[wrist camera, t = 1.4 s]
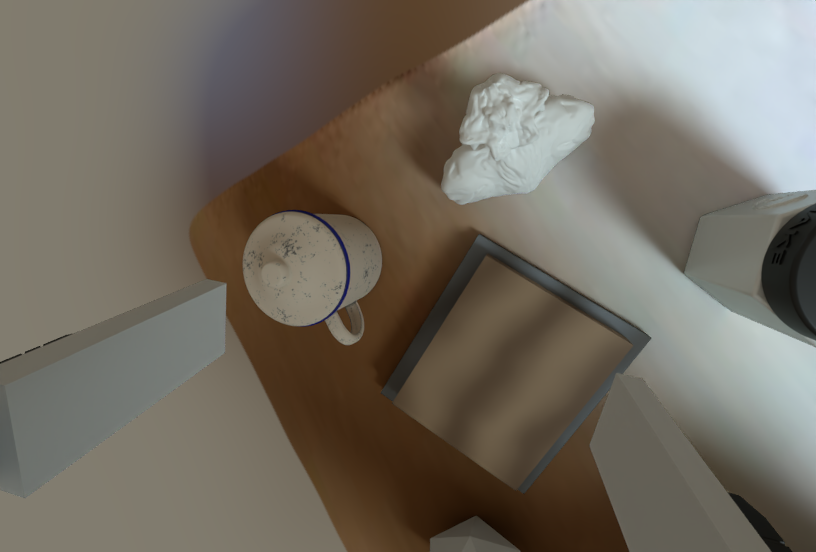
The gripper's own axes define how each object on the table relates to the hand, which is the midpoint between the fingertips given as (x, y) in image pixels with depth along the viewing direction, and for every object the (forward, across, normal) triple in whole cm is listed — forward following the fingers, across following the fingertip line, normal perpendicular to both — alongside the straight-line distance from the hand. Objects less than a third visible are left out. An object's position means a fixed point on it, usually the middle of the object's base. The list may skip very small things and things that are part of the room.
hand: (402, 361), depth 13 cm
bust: (+24, -3, -8) cm, 26 cm away
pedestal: (+21, -7, +10) cm, 25 cm away
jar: (+22, -22, -3) cm, 31 cm away
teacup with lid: (+24, +9, +6) cm, 26 cm away
